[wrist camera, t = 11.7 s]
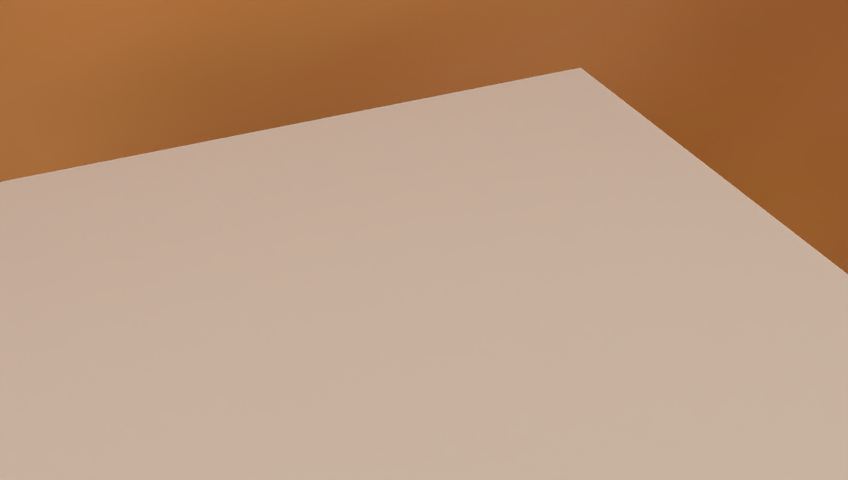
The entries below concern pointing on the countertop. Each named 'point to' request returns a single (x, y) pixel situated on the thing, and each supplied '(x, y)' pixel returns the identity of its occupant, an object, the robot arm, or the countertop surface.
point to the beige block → (418, 306)
